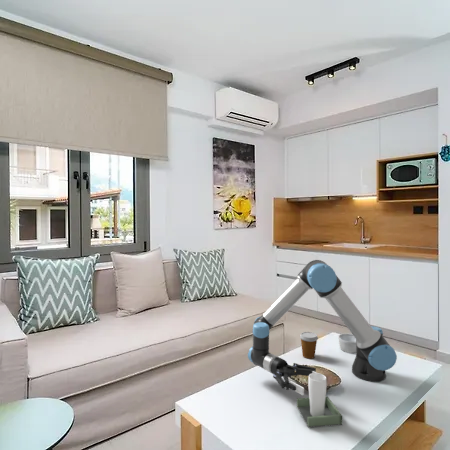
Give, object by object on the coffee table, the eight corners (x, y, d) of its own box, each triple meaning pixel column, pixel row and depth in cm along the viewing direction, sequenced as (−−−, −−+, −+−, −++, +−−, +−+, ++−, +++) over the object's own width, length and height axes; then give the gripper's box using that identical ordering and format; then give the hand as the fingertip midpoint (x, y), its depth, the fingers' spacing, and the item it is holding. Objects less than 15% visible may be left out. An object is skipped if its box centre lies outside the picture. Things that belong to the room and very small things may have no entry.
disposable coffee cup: (318, 360, 176) (318, 338, 175) (299, 359, 178) (300, 337, 177) (317, 353, 185) (317, 332, 185) (299, 351, 187) (299, 330, 187)
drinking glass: (305, 409, 132) (305, 372, 131) (322, 408, 132) (322, 372, 132) (311, 420, 125) (311, 381, 125) (328, 419, 126) (329, 381, 125)
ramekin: (366, 349, 191) (366, 337, 190) (357, 356, 181) (357, 344, 181) (344, 343, 200) (344, 331, 199) (334, 349, 190) (334, 337, 190)
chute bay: (327, 404, 136) (327, 396, 136) (342, 425, 123) (342, 415, 123) (296, 406, 135) (296, 398, 135) (308, 427, 122) (308, 418, 122)
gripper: (294, 365, 154) (334, 385, 137) (254, 382, 140) (293, 406, 123) (295, 350, 154) (334, 367, 137) (254, 365, 139) (293, 386, 122)
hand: (315, 386), depth 130 cm, fingers open, 13 cm apart
